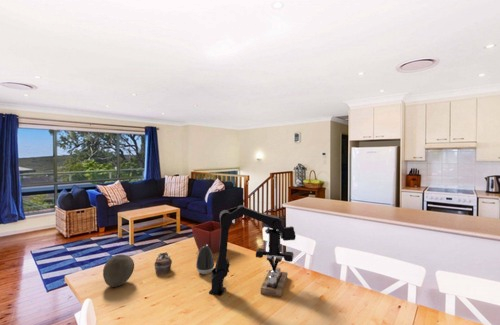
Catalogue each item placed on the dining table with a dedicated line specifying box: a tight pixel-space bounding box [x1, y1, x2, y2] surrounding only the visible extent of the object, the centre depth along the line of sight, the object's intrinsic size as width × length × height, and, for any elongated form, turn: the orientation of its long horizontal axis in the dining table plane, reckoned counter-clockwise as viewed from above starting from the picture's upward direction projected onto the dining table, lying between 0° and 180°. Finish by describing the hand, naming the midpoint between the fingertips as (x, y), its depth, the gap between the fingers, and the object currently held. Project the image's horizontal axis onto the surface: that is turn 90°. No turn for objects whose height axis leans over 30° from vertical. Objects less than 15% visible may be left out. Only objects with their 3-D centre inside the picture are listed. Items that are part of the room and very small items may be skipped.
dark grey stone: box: [102, 254, 135, 288], centre depth 128 cm, size 14×14×15 cm
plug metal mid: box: [270, 268, 279, 282], centre depth 127 cm, size 4×4×5 cm
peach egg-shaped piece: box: [276, 266, 282, 278], centre depth 132 cm, size 4×4×5 cm
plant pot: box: [191, 220, 221, 254], centre depth 174 cm, size 19×19×17 cm
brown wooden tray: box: [260, 269, 288, 298], centre depth 127 cm, size 19×10×3 cm, turn 163°
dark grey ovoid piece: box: [195, 244, 215, 275], centre depth 141 cm, size 10×10×15 cm
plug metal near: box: [268, 274, 277, 288], centre depth 122 cm, size 4×4×5 cm
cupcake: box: [153, 252, 173, 275], centre depth 143 cm, size 10×10×10 cm
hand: (274, 271), depth 127 cm, fingers closed
